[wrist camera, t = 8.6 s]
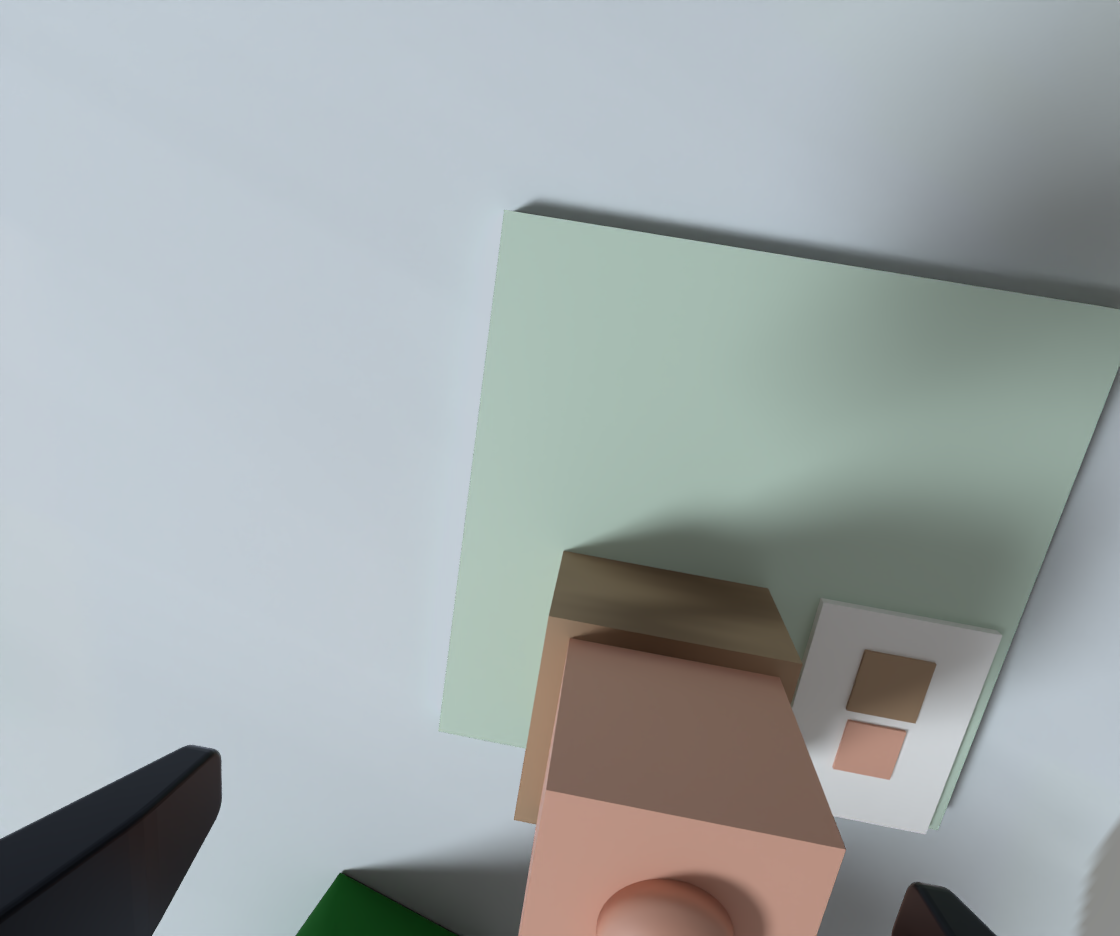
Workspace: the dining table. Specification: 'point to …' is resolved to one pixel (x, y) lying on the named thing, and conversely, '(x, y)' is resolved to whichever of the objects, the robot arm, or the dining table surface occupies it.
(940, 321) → the board
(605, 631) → the walnut brick
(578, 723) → the pink knobbed block
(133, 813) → the robot arm
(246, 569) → the dining table surface
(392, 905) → the milk carton
